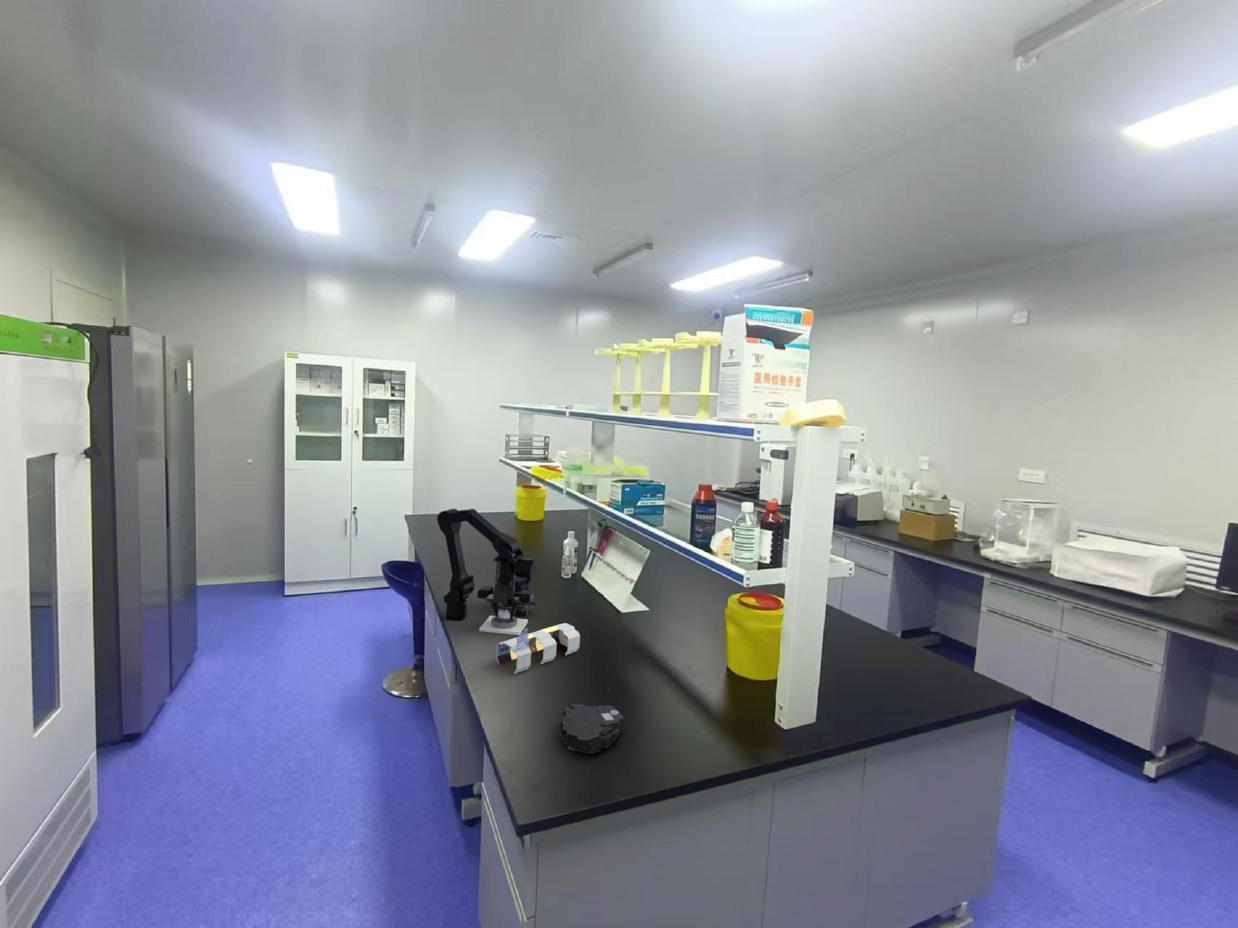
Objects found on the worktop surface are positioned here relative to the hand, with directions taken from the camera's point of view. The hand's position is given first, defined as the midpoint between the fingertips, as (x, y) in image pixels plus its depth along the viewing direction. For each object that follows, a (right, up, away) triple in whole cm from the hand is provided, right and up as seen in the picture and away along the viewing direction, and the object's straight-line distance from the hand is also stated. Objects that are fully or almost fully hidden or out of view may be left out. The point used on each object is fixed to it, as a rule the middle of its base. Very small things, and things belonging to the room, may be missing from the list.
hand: (504, 617), depth 196 cm
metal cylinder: (0, -1, 0) cm, 1 cm away
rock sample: (+33, -12, -61) cm, 70 cm away
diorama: (+15, -7, -22) cm, 27 cm away
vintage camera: (+1, -2, +16) cm, 16 cm away
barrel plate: (0, -3, 0) cm, 3 cm away
